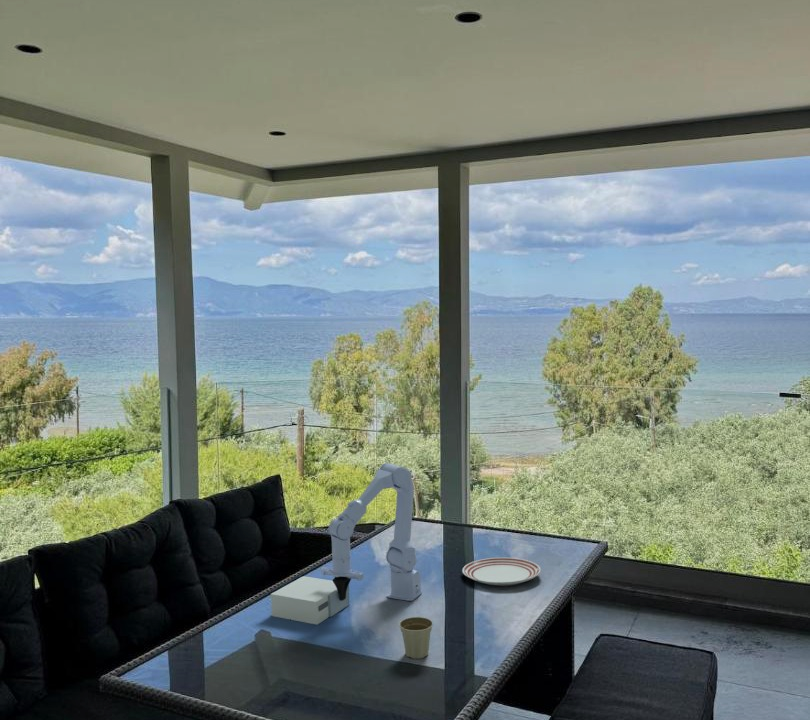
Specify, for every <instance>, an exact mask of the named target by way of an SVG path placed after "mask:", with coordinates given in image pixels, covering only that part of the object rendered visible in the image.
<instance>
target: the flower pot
mask: <svg viewBox="0 0 810 720" xmlns="http://www.w3.org/2000/svg"><path fill="white" fill-rule="evenodd" d="M433 626H434V622H433V620H432V619H430V618H427V617H425V616H424V617H423V616H422V617H421V616H412V617H406V618H404V619H402V620H400V621H399V622H398V627H399V628H400V631H401V633H402V634H401V635H402V638H403V639H402V641H403V645H404V650H405V651H404V652H405V655H406V656H407V658H408V657H410V658H411V659H413V660H414V659H415V660H417V659H424V658H425V657H427V656H428V655H429V649H430V639H431V632H432V628H433Z"/></svg>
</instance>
